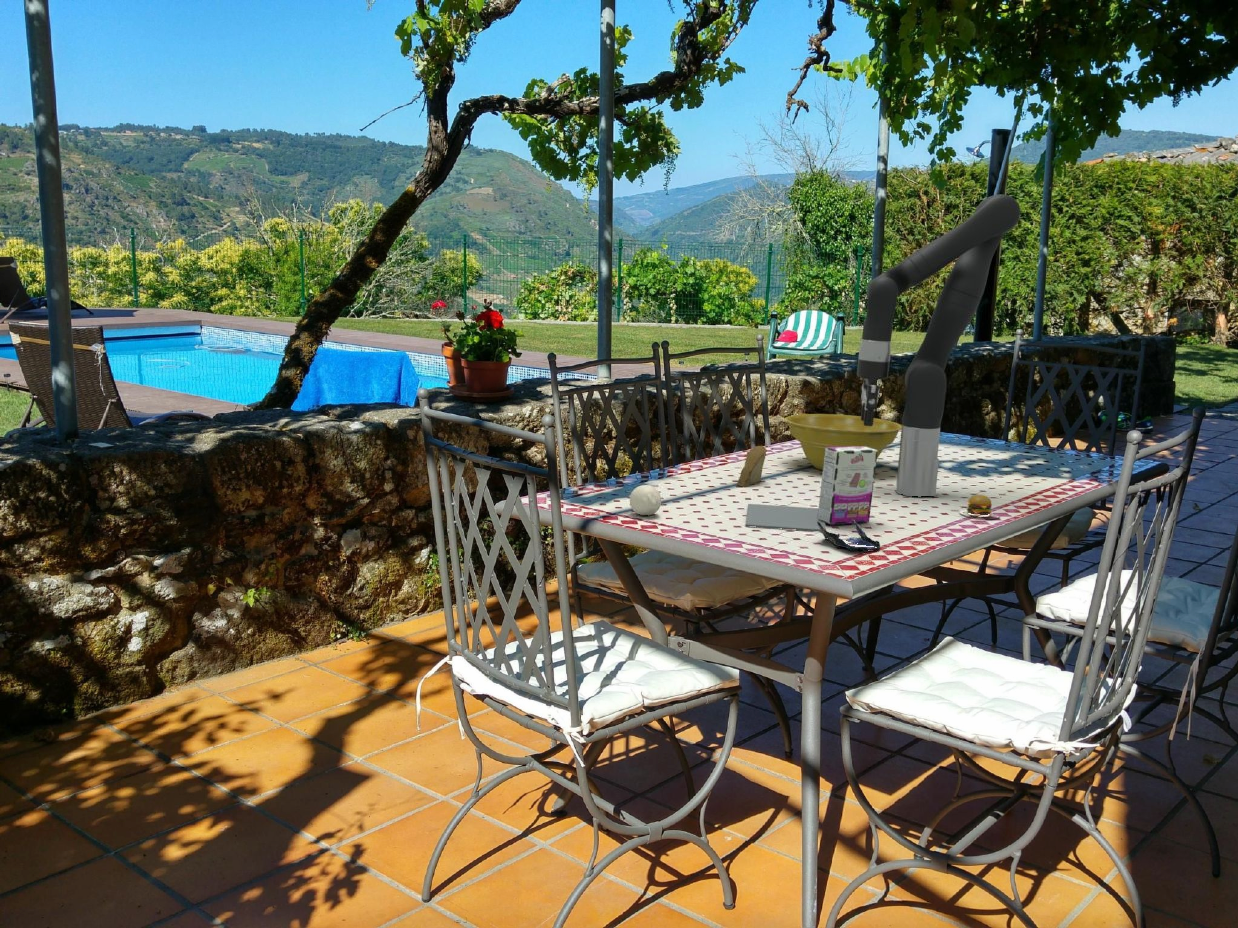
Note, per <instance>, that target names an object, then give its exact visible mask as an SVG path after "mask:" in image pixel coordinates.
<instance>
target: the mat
mask: <svg viewBox="0 0 1238 928" xmlns="http://www.w3.org/2000/svg"><path fill="white" fill-rule="evenodd" d="M818 509H819V507H817V508H815V507H803V506H802V507H801V506H788V505H773V504H761V503H760V504H758V503H757V504H756V503H747V510H746V517H745V518H746V519H745V526H756V527H755V528H757V527H763V528H762V529H771V528H782V529H781V530H785V529H796V530H795V531H799V530H804V531H803V532H813V531H820V528H819V526H818V524H817V522H819V523H820V524H821V525H822V526H823V528H824V529H825V530H826V531H827V526H826V523H825V522H823V521H820V520H818ZM745 526H744V527H745Z"/></svg>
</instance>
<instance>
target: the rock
mask: <svg viewBox="0 0 1238 928" xmlns="http://www.w3.org/2000/svg"><path fill="white" fill-rule="evenodd" d="M767 450H768V449H767V448H766V447H765V446H764V445H757V446H755V447H753V448H751V449H750V450H749V451H747V452H746V458H745V462H744V466H743V467H742V469H741V472H740V475H739V477H738V480H737V483H736V485H737V486H740V487H748V486H752V485H754V484H757V483H760V482H761V480H762V479H761V478H762V476H763V467H764V464H765V460H766V455H767Z"/></svg>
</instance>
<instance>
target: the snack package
mask: <svg viewBox="0 0 1238 928" xmlns="http://www.w3.org/2000/svg"><path fill="white" fill-rule="evenodd" d="M848 520H849V519H848ZM851 521H852V522H853V523H852V524H853V525H854V526H855V529H856V530H855V531H856V532H857V535H858V537H856V536H851V537H847V538H841V537H840V536H841V534H840V533H836V532H834V533H833V532H829V531H827V529H826V530H825V529H824V528H823V526H822V525H821V524H820V523H819V522H817V524H818V526H819V528H820V531H821V532H820V533H821V534H822V535H823V536H822V537H824V539H825V538H828V539H827V540H829V541H831V542H832V543H833V544H834V545H836V546H838V547H842V548H848V549H849V550H850V551H851V552H853V551H854V550H855V551H856V550H862V551H863V552H864V551H868V550H875V551H877V550H880V549H881V544H880V541H879V540H873V539H871V537H869V536H868V535H867V534H866V533H865V531H864V530H863V528H862V527H861V526H860V525H859V523H857V522H856V521H855V520H854V519H852V520H851ZM834 528H836V529H837V527H836V526H834ZM843 540H846V541H848V542H851V543H853V544H854V543H855V544H857V543H858V544H857V545H866V546H874V547H855V546H850V545H848V544H846V543H845V542H844V541H843ZM875 547H877V548H875ZM876 549H877V550H876Z"/></svg>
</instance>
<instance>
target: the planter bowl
mask: <svg viewBox="0 0 1238 928" xmlns="http://www.w3.org/2000/svg"><path fill="white" fill-rule="evenodd" d="M783 421H785V422H786V423H787V424H788V427H789V430H790V433H791V436H792V437H793V438H795V439H796V440H797V441H798V442H799V443H800V446H801V448H802V451H803V453H804V455H805V457H806V459H807V461H808V463H810V464H811V465H812V466H813V467H814V468H816V469H818V470H821V471H823V464H824V455H825V447H863V446H864V447H868V448H872V449H875V450H878V452H877V459H879V457H880V455H881V454H882V451H883V449H886V448H887V447H888V446H890V445H892V444H893V443H894V442H895V439H896V438H897V436H898V434H899V431H901V429H902V424H899V423H897V422H894V421H891V420H886V419H882V418H881V419H880V418H877V417H874V420H873V425H872V426H865V425H864V421H862V420H861V416H858V415H847V414H831V413H830V414H827V413H811V414H809V413H805V414H803V413H802V414H792V415H789V416H786V417H785V418H784V420H783Z"/></svg>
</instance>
